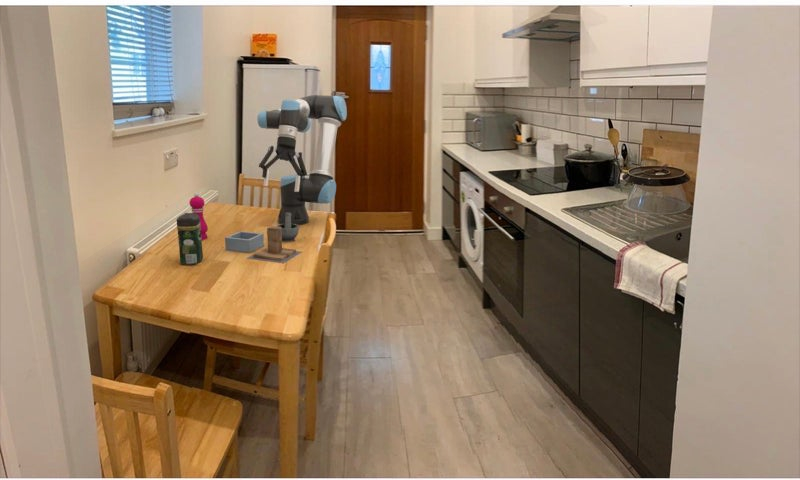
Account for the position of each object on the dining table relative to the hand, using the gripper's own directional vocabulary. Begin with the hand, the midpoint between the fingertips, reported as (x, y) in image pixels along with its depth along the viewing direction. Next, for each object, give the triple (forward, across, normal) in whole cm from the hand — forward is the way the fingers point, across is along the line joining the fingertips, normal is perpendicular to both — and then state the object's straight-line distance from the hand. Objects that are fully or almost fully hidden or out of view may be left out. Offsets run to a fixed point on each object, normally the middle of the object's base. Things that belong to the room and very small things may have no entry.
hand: (281, 189), depth 222 cm
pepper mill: (+24, -21, +34) cm, 46 cm away
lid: (+27, -2, -6) cm, 28 cm away
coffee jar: (+33, -31, +4) cm, 45 cm away
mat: (+28, -2, -6) cm, 29 cm away
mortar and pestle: (+21, +10, +12) cm, 26 cm away
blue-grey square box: (+26, -9, +8) cm, 29 cm away
